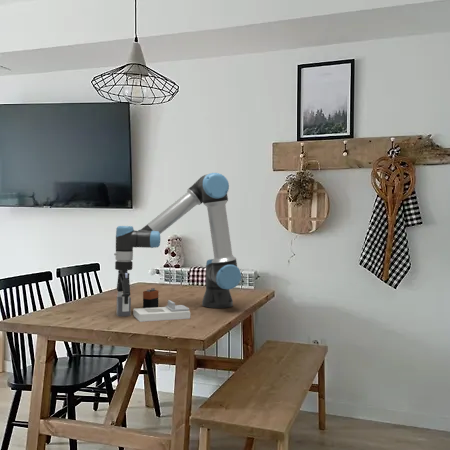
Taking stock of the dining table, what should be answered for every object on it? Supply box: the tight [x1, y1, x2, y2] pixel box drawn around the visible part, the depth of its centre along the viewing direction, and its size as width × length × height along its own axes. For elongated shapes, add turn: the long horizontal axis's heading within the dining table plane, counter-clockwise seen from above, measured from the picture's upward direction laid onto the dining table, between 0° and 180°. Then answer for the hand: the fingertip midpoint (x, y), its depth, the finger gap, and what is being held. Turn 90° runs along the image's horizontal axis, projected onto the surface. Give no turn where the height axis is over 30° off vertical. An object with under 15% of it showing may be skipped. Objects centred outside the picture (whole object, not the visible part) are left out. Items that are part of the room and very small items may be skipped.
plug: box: [116, 293, 132, 317], centre depth 229 cm, size 6×4×10 cm
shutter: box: [165, 299, 190, 311], centre depth 229 cm, size 8×10×3 cm
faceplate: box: [132, 306, 191, 323], centre depth 226 cm, size 22×14×3 cm, turn 111°
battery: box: [142, 287, 159, 308], centre depth 242 cm, size 4×7×10 cm, turn 151°
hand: (122, 308), depth 229 cm, fingers open, 13 cm apart
